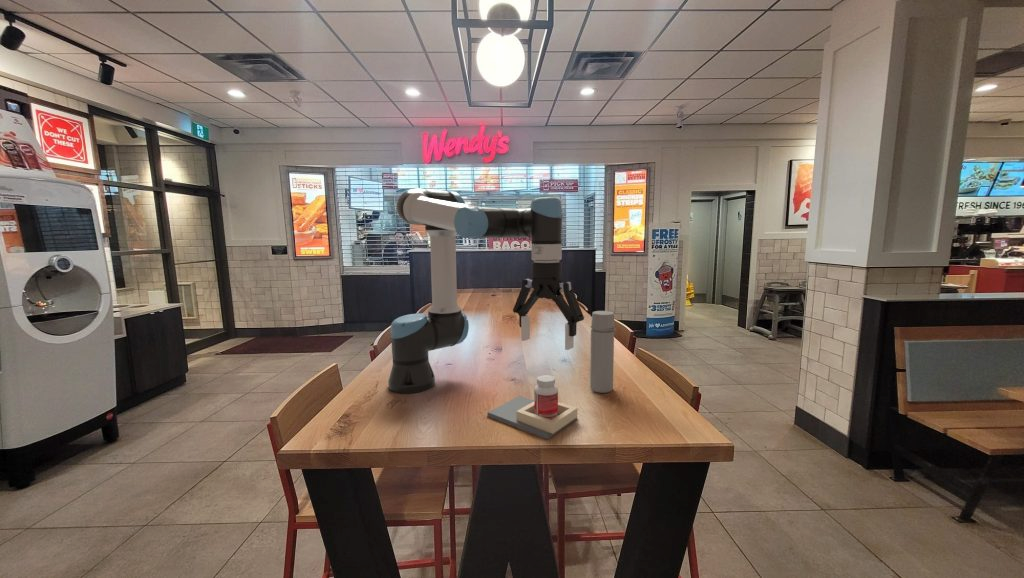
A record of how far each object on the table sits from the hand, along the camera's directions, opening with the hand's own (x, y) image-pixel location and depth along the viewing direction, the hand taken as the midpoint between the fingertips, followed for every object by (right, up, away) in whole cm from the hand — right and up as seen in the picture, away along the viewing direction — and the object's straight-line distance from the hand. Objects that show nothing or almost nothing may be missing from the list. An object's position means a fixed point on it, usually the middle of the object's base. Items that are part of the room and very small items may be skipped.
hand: (546, 344), depth 99 cm
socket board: (-3, -21, +6) cm, 22 cm away
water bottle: (+20, -18, +25) cm, 37 cm away
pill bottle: (0, -20, +3) cm, 20 cm away
